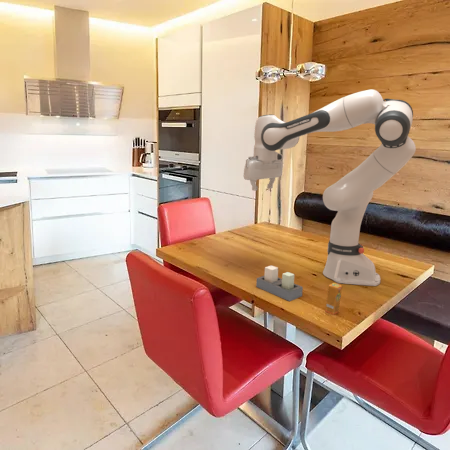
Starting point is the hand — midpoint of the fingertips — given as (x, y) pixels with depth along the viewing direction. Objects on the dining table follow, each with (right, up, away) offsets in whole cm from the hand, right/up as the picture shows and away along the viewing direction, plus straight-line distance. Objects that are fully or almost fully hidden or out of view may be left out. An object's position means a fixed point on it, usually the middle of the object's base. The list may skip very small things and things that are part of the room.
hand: (262, 189), depth 159 cm
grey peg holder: (+4, -40, -19) cm, 44 cm away
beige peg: (+7, -40, -22) cm, 46 cm away
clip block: (+1, -39, -16) cm, 42 cm away
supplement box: (+20, -44, -34) cm, 59 cm away
